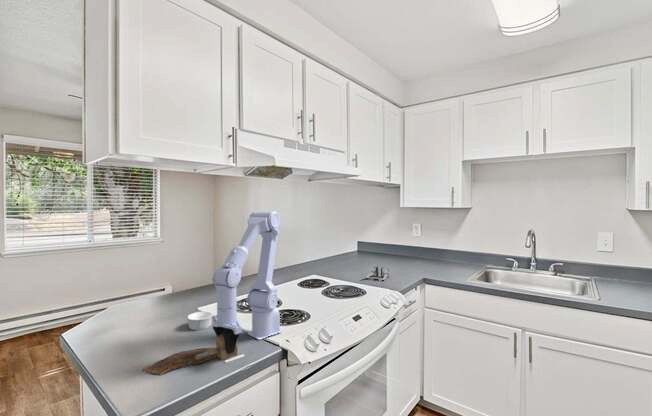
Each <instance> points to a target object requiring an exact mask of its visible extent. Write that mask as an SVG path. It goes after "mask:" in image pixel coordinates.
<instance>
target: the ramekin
mask: <svg viewBox="0 0 652 416" xmlns="http://www.w3.org/2000/svg"><path fill="white" fill-rule="evenodd" d="M213 317H214V315H213V313H212V312H211V311H196V312H193V313H191V314H188V316H187V319H188V320H187V321H188V328H189V329H190V330H191V331H201V330H205V329H209V328H210V327H211V326H212V322H213V321H212V320H213Z"/></svg>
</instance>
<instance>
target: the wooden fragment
mask: <svg viewBox="0 0 652 416" xmlns="http://www.w3.org/2000/svg"><path fill="white" fill-rule="evenodd" d="M213 349H216V346H213V347H203V348H195V349H189V350H183V351H179V352H176V353H173V354H171V355H169V356H167V357H165V358H163V359H160V360H159V361H156V362H155V363H154V362H153V363H152V364H150V365H147V366H145V367H143V368H142V369H141V371H142V370H143V371H142V372H144V371H145V373H146V374H147V373H152V374H151V375H155V376H156V375H160V376H162V375H164V374H165V373H168V372H171V371H173V370H175V369H179V368H180V369H181V368H183V367H186V366H189V365H192V366H193V365H198V364H202V363H204V362H206V361H208V360H212V359H217V358H219V357H218V355H217V354H216V353H215V354H212V355H209V356H206V357H203V358H200V359H197V360H196V359H195V355H198V354H201V353H204V352H207V351H210V350H213Z"/></svg>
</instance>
